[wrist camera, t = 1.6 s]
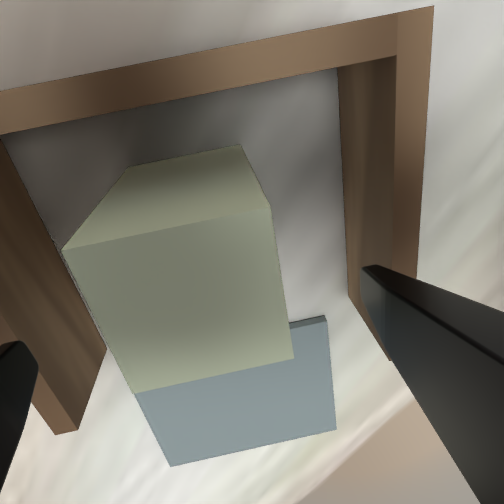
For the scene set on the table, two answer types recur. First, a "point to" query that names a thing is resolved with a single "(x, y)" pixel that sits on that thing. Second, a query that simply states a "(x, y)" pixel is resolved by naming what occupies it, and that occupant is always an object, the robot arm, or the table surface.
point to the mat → (247, 403)
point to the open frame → (201, 82)
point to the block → (184, 270)
